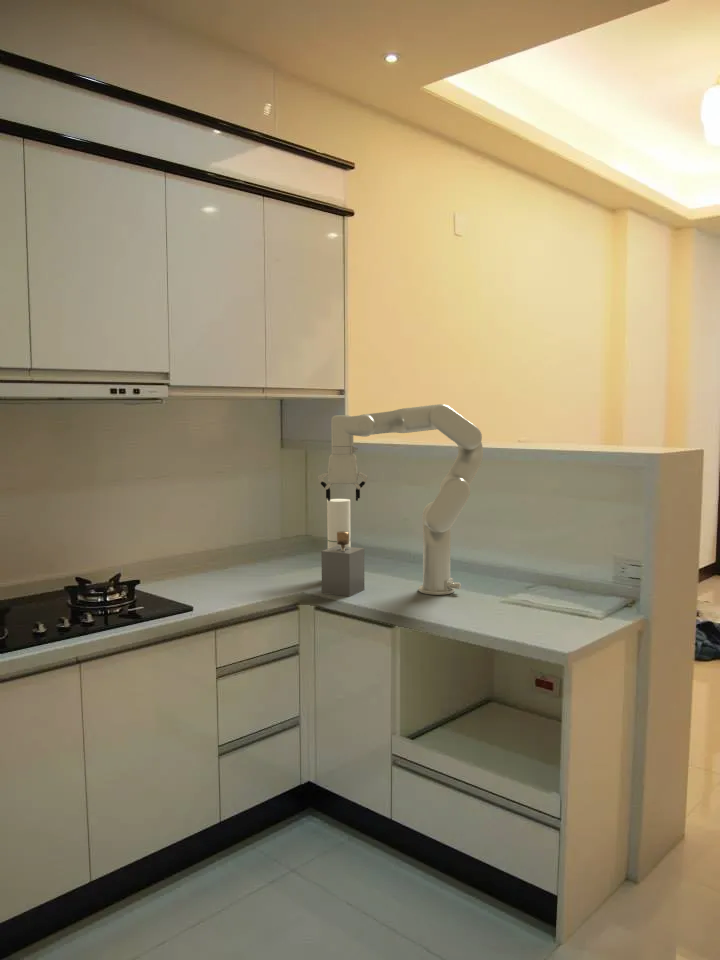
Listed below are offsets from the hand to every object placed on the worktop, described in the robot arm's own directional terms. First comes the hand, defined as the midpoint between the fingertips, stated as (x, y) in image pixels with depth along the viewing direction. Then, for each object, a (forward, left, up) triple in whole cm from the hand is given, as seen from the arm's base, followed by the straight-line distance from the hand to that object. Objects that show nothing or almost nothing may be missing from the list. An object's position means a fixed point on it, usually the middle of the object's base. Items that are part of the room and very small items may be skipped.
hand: (343, 500), depth 264 cm
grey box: (0, 0, -32) cm, 32 cm away
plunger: (0, 0, -31) cm, 31 cm away
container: (+10, -15, -32) cm, 37 cm away
